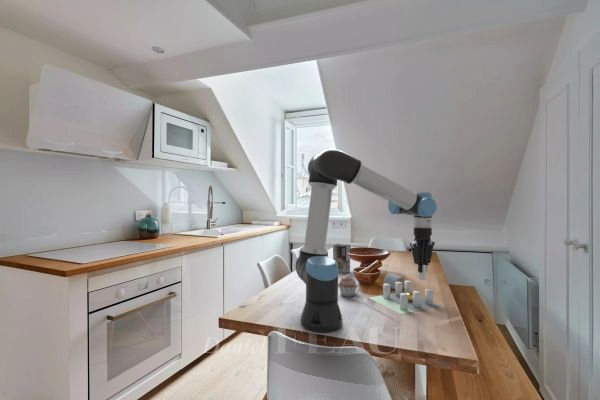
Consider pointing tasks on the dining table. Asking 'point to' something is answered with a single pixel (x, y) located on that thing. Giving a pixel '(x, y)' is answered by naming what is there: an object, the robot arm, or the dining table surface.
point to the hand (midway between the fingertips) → (422, 279)
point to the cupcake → (347, 286)
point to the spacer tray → (404, 299)
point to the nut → (410, 296)
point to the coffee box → (342, 257)
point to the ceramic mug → (394, 280)
